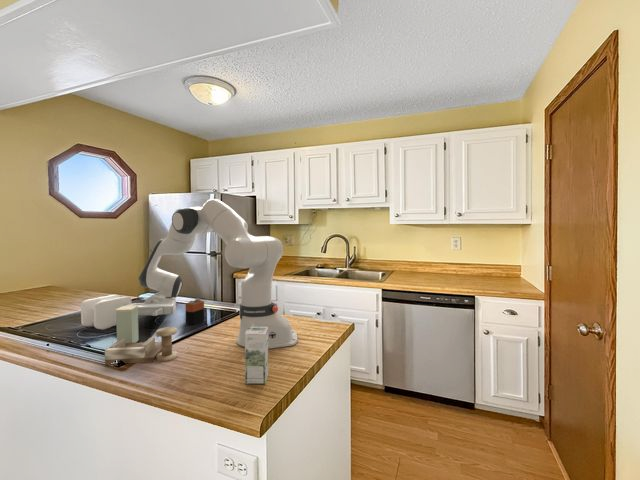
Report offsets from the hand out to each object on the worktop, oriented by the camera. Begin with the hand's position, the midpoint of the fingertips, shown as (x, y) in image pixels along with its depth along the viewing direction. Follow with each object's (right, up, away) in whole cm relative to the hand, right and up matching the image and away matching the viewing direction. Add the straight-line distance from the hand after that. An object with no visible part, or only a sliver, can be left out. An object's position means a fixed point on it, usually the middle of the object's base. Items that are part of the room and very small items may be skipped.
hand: (141, 314), depth 122 cm
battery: (+16, -7, +12) cm, 21 cm away
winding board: (+11, -8, -21) cm, 25 cm away
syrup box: (+54, -10, -36) cm, 65 cm away
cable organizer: (-19, -7, +8) cm, 22 cm away
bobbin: (+21, -9, -23) cm, 32 cm away
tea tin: (+2, -8, -11) cm, 14 cm away
